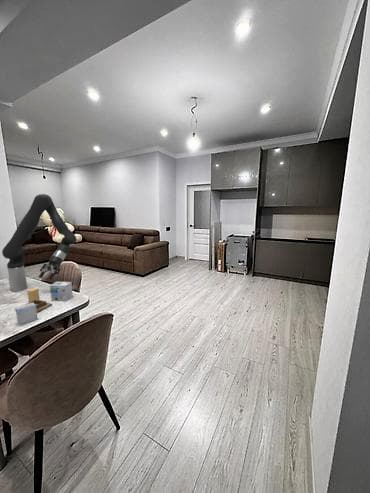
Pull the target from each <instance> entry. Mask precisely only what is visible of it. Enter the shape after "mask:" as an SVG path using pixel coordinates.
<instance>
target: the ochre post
mask: <svg viewBox="0 0 370 493" xmlns="http://www.w3.org/2000/svg"><path fill="white" fill-rule="evenodd" d="M26 291H27V297H28V298H27V299H28V303H30V302H32V301H34V300H40V291H39V288H35V287H33V288H30V289H28V290H27V289H26Z"/></svg>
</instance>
